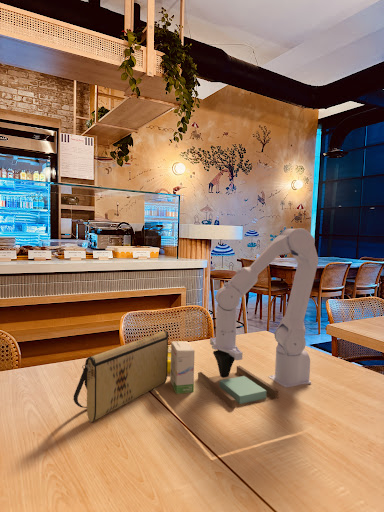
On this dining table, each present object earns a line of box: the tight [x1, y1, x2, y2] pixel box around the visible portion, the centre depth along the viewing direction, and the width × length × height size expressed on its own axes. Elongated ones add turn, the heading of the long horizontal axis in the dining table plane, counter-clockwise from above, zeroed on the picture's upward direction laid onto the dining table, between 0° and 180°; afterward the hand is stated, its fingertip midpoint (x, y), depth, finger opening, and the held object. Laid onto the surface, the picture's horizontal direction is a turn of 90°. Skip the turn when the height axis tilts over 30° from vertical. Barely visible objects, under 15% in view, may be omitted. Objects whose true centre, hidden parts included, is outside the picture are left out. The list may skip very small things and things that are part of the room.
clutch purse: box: [73, 330, 169, 423], centre depth 89 cm, size 30×7×15 cm, turn 146°
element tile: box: [167, 345, 171, 374], centre depth 113 cm, size 15×15×5 cm
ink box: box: [169, 340, 195, 394], centre depth 97 cm, size 8×5×12 cm, turn 14°
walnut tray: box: [197, 365, 279, 409], centre depth 96 cm, size 14×18×2 cm
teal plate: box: [219, 376, 267, 404], centre depth 94 cm, size 8×10×2 cm
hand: (224, 376), depth 102 cm, fingers closed
